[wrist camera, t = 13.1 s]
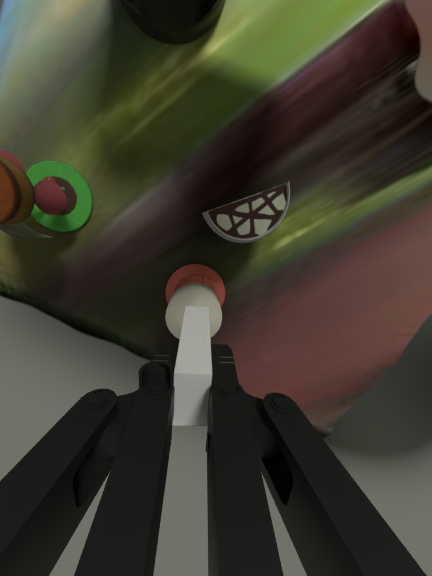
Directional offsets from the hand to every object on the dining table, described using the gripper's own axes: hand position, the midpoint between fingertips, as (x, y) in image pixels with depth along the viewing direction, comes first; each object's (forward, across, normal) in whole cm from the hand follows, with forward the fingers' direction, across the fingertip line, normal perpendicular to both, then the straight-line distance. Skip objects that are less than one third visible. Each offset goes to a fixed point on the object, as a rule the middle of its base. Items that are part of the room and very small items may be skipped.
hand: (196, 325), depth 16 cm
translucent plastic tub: (+28, -24, +7) cm, 38 cm away
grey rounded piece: (+23, 0, -8) cm, 24 cm away
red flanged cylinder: (+28, 0, -8) cm, 29 cm away
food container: (+28, +7, +6) cm, 30 cm away
